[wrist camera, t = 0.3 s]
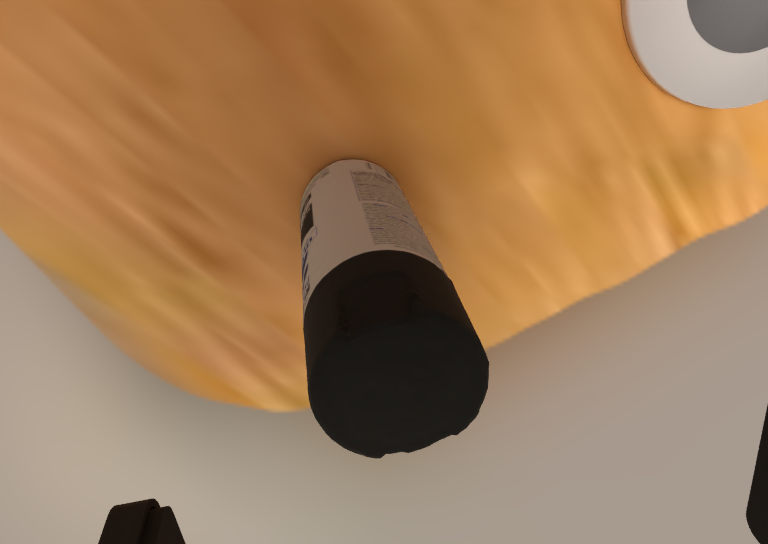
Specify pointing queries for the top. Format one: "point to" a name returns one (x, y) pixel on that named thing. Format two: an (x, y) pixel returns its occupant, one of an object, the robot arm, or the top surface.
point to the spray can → (381, 319)
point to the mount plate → (702, 48)
